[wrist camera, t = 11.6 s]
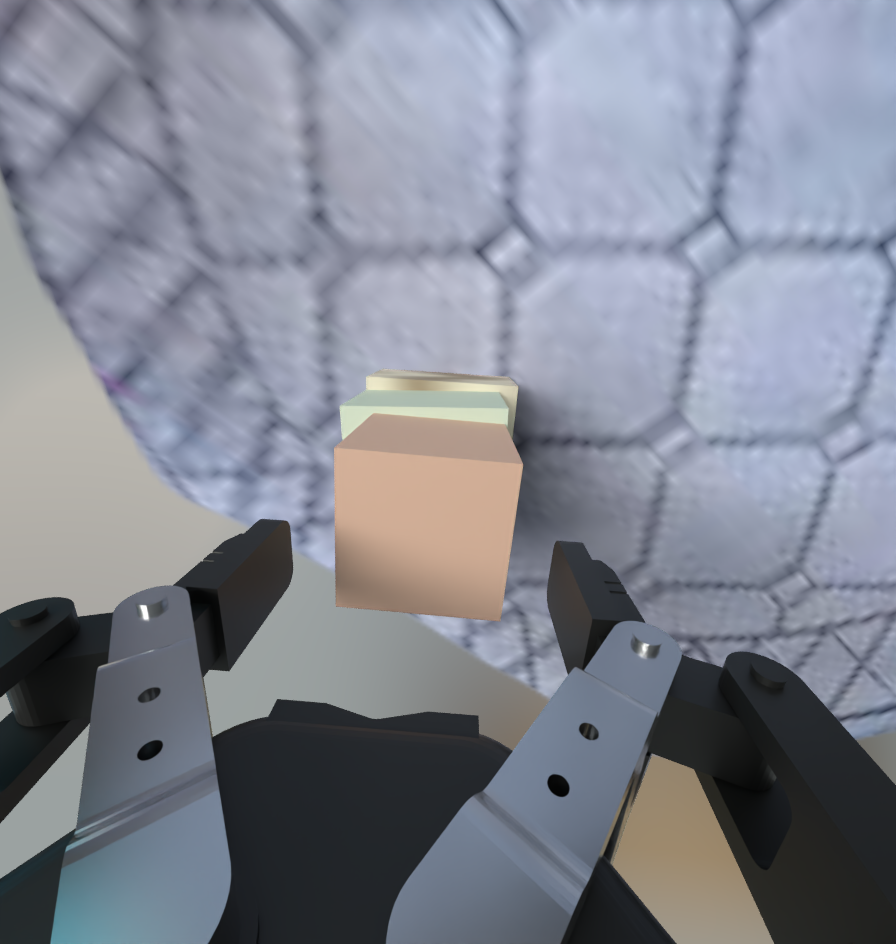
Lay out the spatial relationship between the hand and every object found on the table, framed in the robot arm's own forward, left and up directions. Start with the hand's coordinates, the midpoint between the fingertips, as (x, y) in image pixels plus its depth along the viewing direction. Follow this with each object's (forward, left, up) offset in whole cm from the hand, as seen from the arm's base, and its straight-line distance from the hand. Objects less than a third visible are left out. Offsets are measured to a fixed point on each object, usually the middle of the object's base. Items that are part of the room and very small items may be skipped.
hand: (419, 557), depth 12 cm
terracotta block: (0, 0, -6) cm, 6 cm away
